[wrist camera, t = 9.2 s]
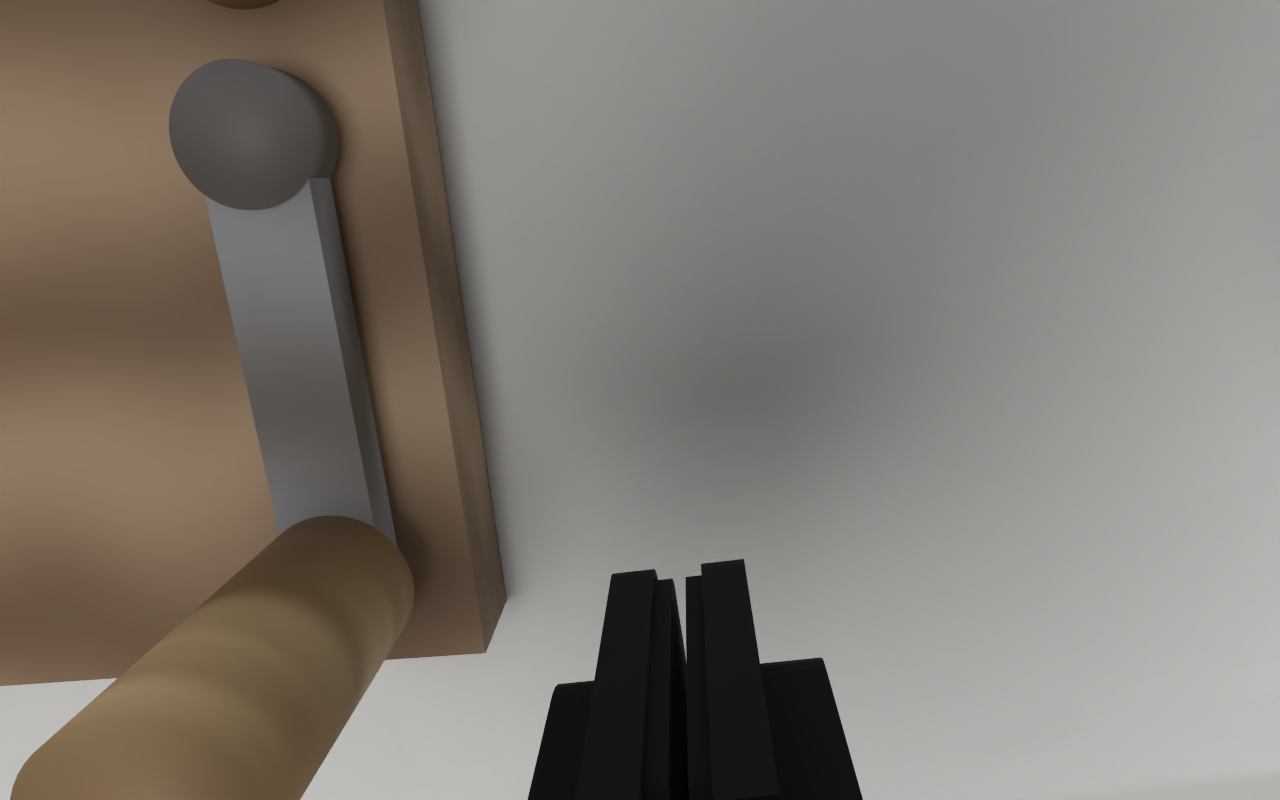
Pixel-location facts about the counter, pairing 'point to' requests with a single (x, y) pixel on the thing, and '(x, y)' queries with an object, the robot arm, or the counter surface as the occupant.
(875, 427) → the counter surface
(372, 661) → the hinged leg
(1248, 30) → the counter surface
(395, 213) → the stool seat
